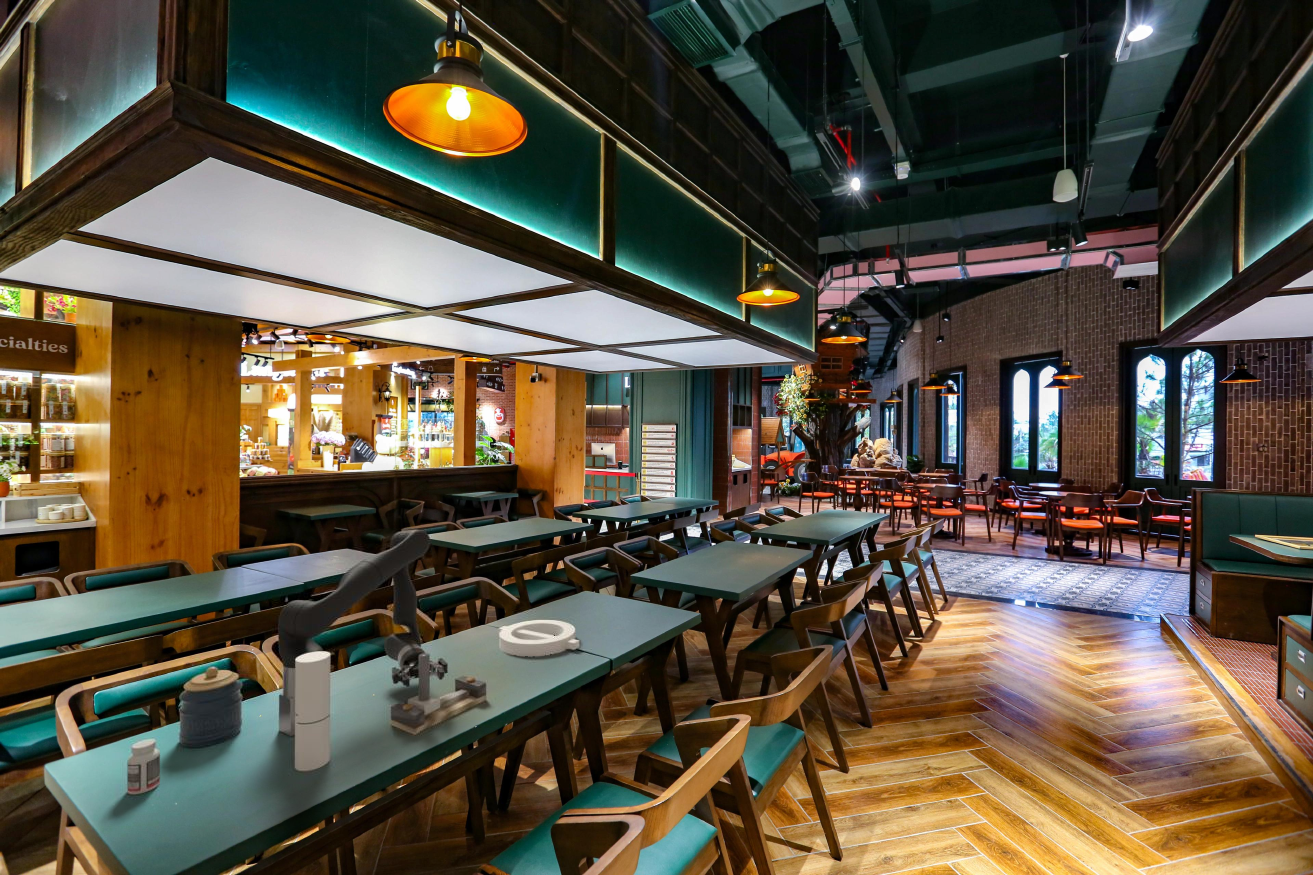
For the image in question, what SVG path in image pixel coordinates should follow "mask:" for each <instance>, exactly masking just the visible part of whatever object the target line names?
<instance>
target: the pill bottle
mask: <svg viewBox="0 0 1313 875" xmlns="http://www.w3.org/2000/svg"><path fill="white" fill-rule="evenodd" d="M156 747H157V741H156V739H154V738H149V739H147V738H146V739H143V740H140V741H138V742H135V743H134V744H132V745H131V755H130V756H129V757H128V758H127V761H126V762H127V763H126V764H127V766H126V768H127V769H126V770H127V771H126V772H127V773H126V775H127V777H126V778H127V779H126V781H127V784H126V785H127V788H126V789H127V794H129V795H140V794H144V793H146V792H147V793H148V792H150V791H152V790H153V789H155V788H157V787H158V786H159V785H160V782H161V774H160V773H161V752H160V751H161V750H159V748H158V749H157V748H156Z"/></svg>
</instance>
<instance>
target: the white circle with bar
mask: <svg viewBox="0 0 1313 875" xmlns="http://www.w3.org/2000/svg"><path fill="white" fill-rule="evenodd" d="M554 635H555V636H554ZM498 636H499V638H498V640H499V644H498V645H499V649H500V651H502V653H505V654H508V655H511V656H515V655H516V657H525V656H528V657H532V658H533V656H535V657H544V656H545V655H546V656H551V655H550V654H552V655H555V653H556V654H559V653H562V652H564V651H567V650H573V651H574V650H577V649H578V648H580V640H579V639H576V628H575V626H573V624H571V623H568V622H565V621H561V620H555V619H554V620H552V619H535V620H527V621H521V622H518V623H517V622H516V623H514V624H513V623H512V624H511V625H507V626H506V625H504V626H501V627H499V628H498ZM566 649H567V650H566Z"/></svg>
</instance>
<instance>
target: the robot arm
mask: <svg viewBox="0 0 1313 875" xmlns="http://www.w3.org/2000/svg"><path fill="white" fill-rule="evenodd" d="M430 544H431V538H430V535H429V534H428V532H426V531H424V530H422V529H409V530H401V531H398V532H396V533H394V534H393V535H392V537H391V540H390V543H389V549H387V550H384V551H381V552H379V553H376V554H373V555H371V556H369V557H366V558H364V559H363V560H361V561H360V562H358V563H357V564H355V565H354V566H352V567H351V568H349V569H348V570H347V571H346V572H345V573H344V574H343V576H342V577H341V579H340V582H339V585H338V587H337V588H336V589H335V590H334V591H332V592H331V593H330V594H328V595H327V596H326V597H324V598H322V599H320V600H317V601H312V600H304V599H303V600H302V599H301V600H300V599H297V600H291V601H290V602H288V603H287V604H285V606H283V608H282V609H281V610H280V614H279V615H278V616H279V617H278V620H277V621H278V623H277V633H278V634H277V635H278V637H277V638H278V652H279V655H280V657H281V659H282V692H281V693H280V694H279V695H278V731H280V732H281V733H283V734H286V735H287V736H288V737H292V736H295V659H296V658H297V657H299V656H301V655H303V654H306V653H311V652H318V651H324V650H323V648H322V646H320V645H319V644H318V643H316V642H315V641H314V638H315V637H316V638H317V637H318V636H320V635H322V634H323V633H324V632H325V631H327V630H328V629H329V628H330V627H331V626H333V625H334V623H335V622H336V621H338V620H339V618H341V616H343V615H344V614H345V613H346V612H347V611H349V610H350V609H351V608H352V607H354V606H355V605H356V604H357V603H359V602H360V601H361V600H362V599H364V598H365V597H366V596H368V595H369V594H371V593H372V592H373V591H375V590H377V588H379V587H380V586H382V584H383V583H385V582H386V581H387V580H389V579H391V577H392V581H393V582H392V583H393V605H392V606H393V608H392V609H393V610H392V623H393V624H394V625H396V626H402V627H406V628H407V629H408V632H397V633H392V634H391V633H390V635H389V636H387V637H386V639H385V642H384V651H385V654H386V656H387V657H388V658H390V659H392V661H393V660H394V661H396V662H398V663H397V664H398V666H399V668H397V667H396V666H395V667H394V666H393V667H392V668H391V679H392V682H393V684H394V685H395V684H396V685H398V683H399V682H400V683H401V684H402V685H403V686H405V687H406V688H408V687H410V685H411V684H410V683H411V682H410V681H412V680H413V679H414V680H415V679H419V655H420V654H424V653H426V651H425V649H424V648H423V647H422V638H421V636H420V630H419V627H418V620H417V619H418V618H417V612H418V611H417V609H418V596H417V592H416V588H415V586H414V583H413V582H412V579H411V577H410V574H409V564H411V563H412V562H414V561H417V559H419V558H421V557H423V556H424V555H425V554H426V553H427V552H428V550H429V548H430ZM437 659H438V660H437V661H435V662H434V661H432V660H430V677H433V676H437V678H438V679H439V680H440V681H441V680H443V678H445V674H447V673H449V670H448V669H449V668H448V666H449V665H448V662H447V661H446V660H445V659H444V658H442V657H440V658H437Z"/></svg>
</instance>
